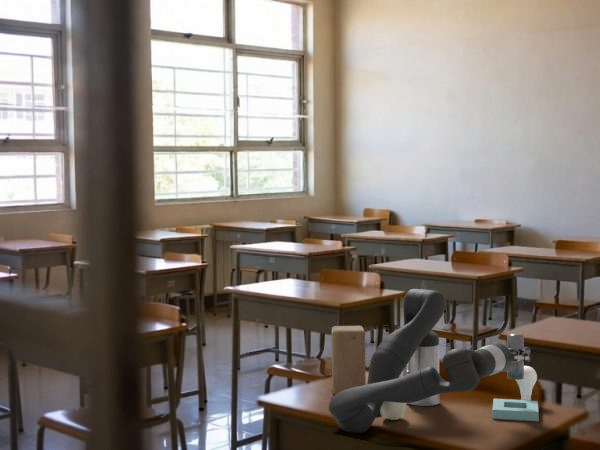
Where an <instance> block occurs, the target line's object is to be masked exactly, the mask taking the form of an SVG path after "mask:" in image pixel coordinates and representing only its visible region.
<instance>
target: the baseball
mask: <svg viewBox="0 0 600 450" xmlns="http://www.w3.org/2000/svg"><path fill="white" fill-rule="evenodd" d="M406 404H407V403H398V402H387V401H384V402H383V404H382V406H381V408H380V409H381V413H382V416H383V417H385V419H388V420H391V421H397V420H399V419H402V418H403V416H404V415H405V414H406V410H407V409H406V408H407V407H406V406H407V405H406Z"/></svg>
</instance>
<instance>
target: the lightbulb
mask: <svg viewBox="0 0 600 450" xmlns="http://www.w3.org/2000/svg"><path fill="white" fill-rule="evenodd" d="M537 379H538V374H537V372H536V369H534V368H533V367H532V366H529V365H524V379H520V380H515V381H516V383H517V385H518V387H519V391H520V396H521V397H520V400H531V401H532V394H533V393H532V392H533V388H534V386H535V384H536V382H537Z"/></svg>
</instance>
